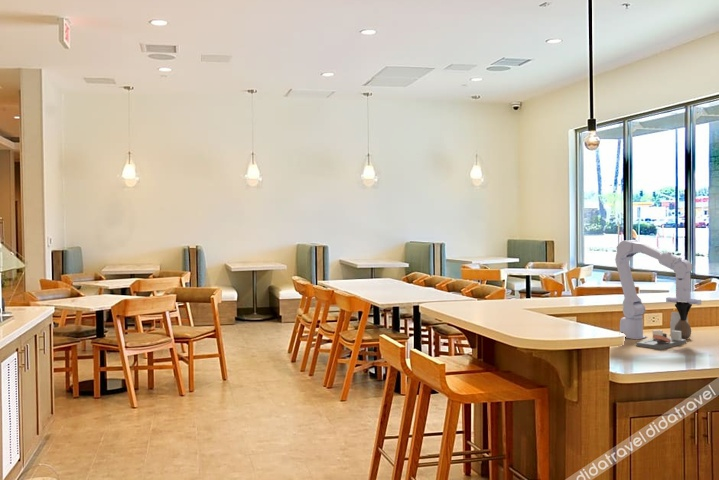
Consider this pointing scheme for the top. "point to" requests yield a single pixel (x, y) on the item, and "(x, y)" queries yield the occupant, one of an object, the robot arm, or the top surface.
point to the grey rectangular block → (675, 320)
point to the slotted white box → (676, 335)
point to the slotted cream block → (658, 332)
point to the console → (659, 343)
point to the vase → (683, 328)
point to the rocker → (661, 338)
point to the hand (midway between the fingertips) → (683, 320)
